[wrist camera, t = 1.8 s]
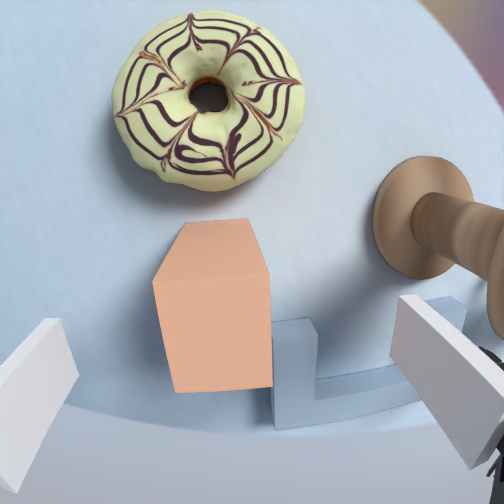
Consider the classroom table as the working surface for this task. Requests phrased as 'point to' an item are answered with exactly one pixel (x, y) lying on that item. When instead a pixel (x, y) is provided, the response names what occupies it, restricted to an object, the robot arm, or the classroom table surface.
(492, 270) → the bobbin
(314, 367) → the u-shaped block
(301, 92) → the decorated donut
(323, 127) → the classroom table surface
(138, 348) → the classroom table surface
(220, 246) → the tab
